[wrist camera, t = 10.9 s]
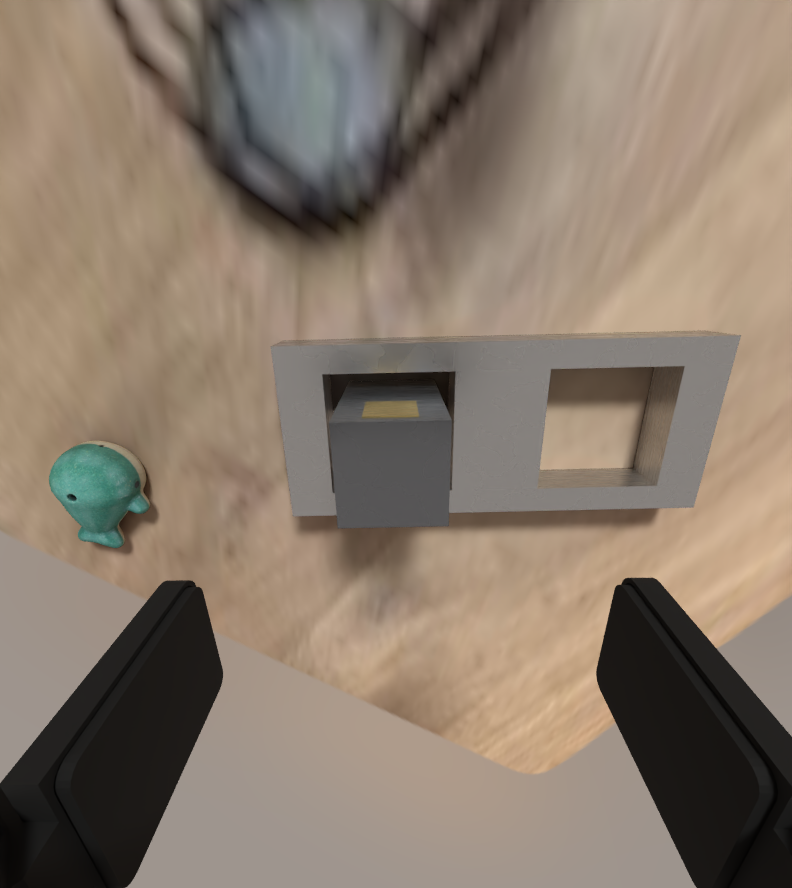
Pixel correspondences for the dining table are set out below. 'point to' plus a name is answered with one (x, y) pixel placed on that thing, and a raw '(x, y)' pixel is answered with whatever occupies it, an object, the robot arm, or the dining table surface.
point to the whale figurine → (99, 489)
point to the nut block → (391, 455)
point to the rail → (517, 414)
